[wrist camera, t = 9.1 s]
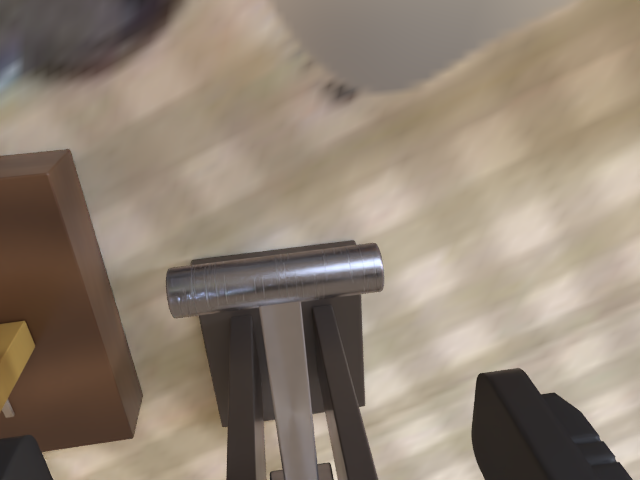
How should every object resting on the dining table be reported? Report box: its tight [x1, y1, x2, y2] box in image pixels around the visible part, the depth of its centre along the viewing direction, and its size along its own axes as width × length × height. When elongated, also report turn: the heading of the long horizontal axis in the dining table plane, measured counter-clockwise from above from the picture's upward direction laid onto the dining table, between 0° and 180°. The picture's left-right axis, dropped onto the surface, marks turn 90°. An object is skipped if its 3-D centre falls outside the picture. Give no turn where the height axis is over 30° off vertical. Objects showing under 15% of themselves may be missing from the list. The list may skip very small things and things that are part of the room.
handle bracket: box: [191, 241, 378, 480], centre depth 23 cm, size 10×8×13 cm
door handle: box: [166, 243, 384, 480], centre depth 17 cm, size 12×6×2 cm, turn 4°
